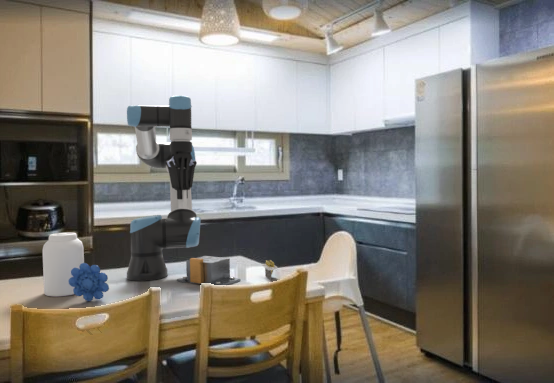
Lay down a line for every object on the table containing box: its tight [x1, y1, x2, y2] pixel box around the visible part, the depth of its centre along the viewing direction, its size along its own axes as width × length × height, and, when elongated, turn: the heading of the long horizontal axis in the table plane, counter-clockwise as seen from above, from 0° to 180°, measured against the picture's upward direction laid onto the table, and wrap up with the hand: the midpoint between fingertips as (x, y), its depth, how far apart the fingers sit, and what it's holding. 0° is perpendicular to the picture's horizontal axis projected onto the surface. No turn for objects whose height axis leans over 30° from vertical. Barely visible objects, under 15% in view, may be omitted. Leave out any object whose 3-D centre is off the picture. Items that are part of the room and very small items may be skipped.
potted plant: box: [261, 259, 278, 282], centre depth 165 cm, size 12×18×7 cm, turn 16°
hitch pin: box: [189, 257, 204, 284], centre depth 163 cm, size 5×16×8 cm, turn 147°
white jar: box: [42, 232, 85, 298], centre depth 149 cm, size 12×12×20 cm
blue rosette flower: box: [68, 262, 110, 302], centre depth 137 cm, size 12×7×12 cm, turn 104°
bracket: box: [176, 255, 241, 286], centre depth 162 cm, size 20×12×8 cm, turn 57°
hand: (182, 208), depth 156 cm, fingers closed
